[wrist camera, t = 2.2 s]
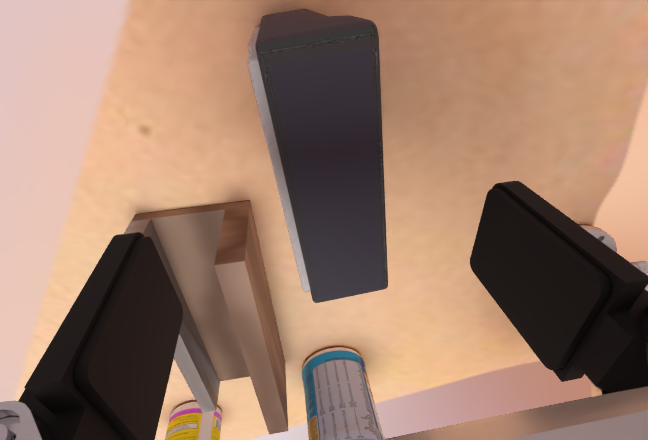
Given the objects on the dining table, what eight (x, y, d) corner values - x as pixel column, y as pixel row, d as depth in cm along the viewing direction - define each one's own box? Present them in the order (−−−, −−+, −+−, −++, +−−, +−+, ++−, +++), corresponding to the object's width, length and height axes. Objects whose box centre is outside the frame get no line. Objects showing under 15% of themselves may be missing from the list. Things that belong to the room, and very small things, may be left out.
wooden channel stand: (249, 200, 29) (244, 261, 22) (285, 363, 42) (288, 430, 36) (135, 214, 28) (94, 281, 21) (208, 375, 41) (197, 447, 35)
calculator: (249, 17, 21) (225, 46, 9) (315, 6, 22) (379, 20, 9) (284, 170, 28) (298, 311, 15) (335, 161, 28) (389, 292, 15)
